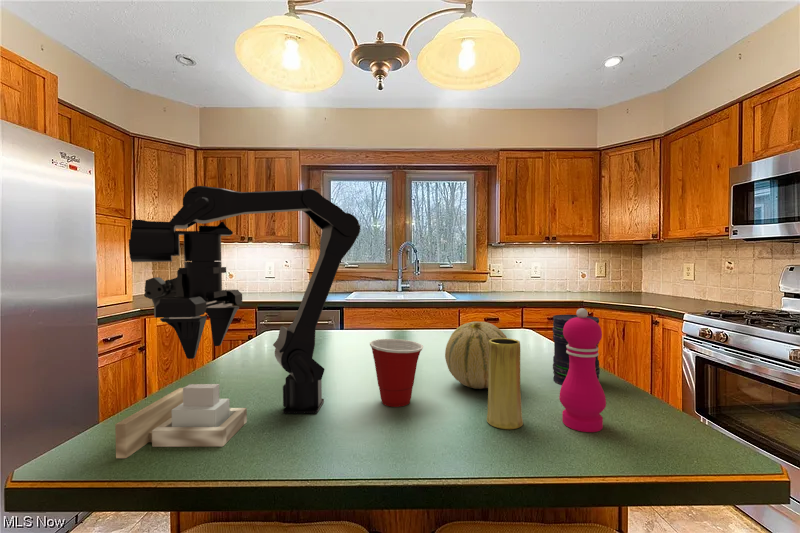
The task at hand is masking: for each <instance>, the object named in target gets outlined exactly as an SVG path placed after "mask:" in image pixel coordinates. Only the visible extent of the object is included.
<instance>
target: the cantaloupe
mask: <svg viewBox="0 0 800 533" xmlns="http://www.w3.org/2000/svg"><path fill="white" fill-rule="evenodd" d="M495 338H508V337H507V336H506V334H505V333H504V332H503V331H502V330H501V329H500V328H499V327H498V326H496V325H494V324H493V323H490V322H487V321H471V322H466V323H464V324H461V325H460V326H458V327H457V328H456V329H455V330H454V331H453V332H452V334H450V337H449V339H448V341H447V343H446V346H445V352H444V358H445V364H446V366H447V369H448V372H449V373H450V374H451V375H452V377H453V378H454V379H455V380H456V381H457V382H459V383H460V384H462V385H463V386H465V387H468V388H473V389H477V390H478V389H479V390H482V389H488V383H489V381H488V380H489V340H491V339H495Z"/></svg>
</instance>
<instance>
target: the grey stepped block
mask: <svg viewBox="0 0 800 533" xmlns="http://www.w3.org/2000/svg"><path fill="white" fill-rule="evenodd" d="M182 388H183V403H182V404H180V405H179V406H177V407H176V408H174V409H172V427H219V426H220V425H221V424H223V423H224V422H225V421H226V420H227V419H228V418H229V417H230V408H231V406H230V403H231V402H230V398H220V384H219V383H214V384H213V383H207V384H206V383H199V384H198V383H197V384H196V383H189V384H188V385H186V386H184V387H182Z"/></svg>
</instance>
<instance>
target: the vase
mask: <svg viewBox="0 0 800 533" xmlns="http://www.w3.org/2000/svg"><path fill="white" fill-rule="evenodd" d="M488 381H489V383H488V388H487V390H488V391H487V394H488V395H487V415H486V422H487V423H488V424H489V425H490V426H492V427H494V428H496V429H501V430H515V429H519V428H521V427H523V425H524V420H523V413H522V412H523V411H522V410H523V409H522V394H521V392H522V391H521V341H520V340H518V339H515V338H508V337H507V338H495V339H491V340H489V380H488Z"/></svg>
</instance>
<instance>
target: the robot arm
mask: <svg viewBox="0 0 800 533" xmlns="http://www.w3.org/2000/svg"><path fill="white" fill-rule="evenodd" d="M284 212H287V213H289V212H303V213H304V214H306V216H308V217H309V219H310V220H311V221H312V222H313V224H315V226H317V227H318V228H319V229H320V230H321V236H320V243H319V244H320V247H319V255H318V259H317V261H316V262H315V266H314V268H313V271H312V273H311V276H310V279H309V282H308V284H307V286H306V289H305V292H304V294H303V297H302V300H301V302H300V305H299V307H298V310H297V312H296V315H295V318H294V320H293V321H292V322H291V324H289V326H288V327H286V326H284V325H281V326H280V328H279V331H278V335H277V339H276V341H275V342H274V343H273V344H272V346H273V347H274V348H275V349H274V357H275V359H276V361H277V363H278V364H279V365H280V366H281V367H282V369H283V370H284V371H285V372H287V373H288V375H287V376H286V377H285V378H284V379H285V383H284V384H283V385H282V406H283V407H284V408H283V410H282V414H318V413H319V411H320V409H321V407H322V406H323V404H324V402H325V398H322V397H323V396H322V392H323V390H322V389H323V388H322V387H323V386H322V385H323V384H322V382H323V381H322V379H323V376H324V374H325V368H324V366H322V365H321V364H319V363H318V362H317V361H316V360H315V359H314V358H313V357H314V352H315V347H316V329H317V325H318V323H319V320H320V317H321V314H322V312H323V310H324V306H325V304H326V301H327V299H328V296H329V293H330V291H331V288H332V285H333V283H334V281H335V278H336V274H337V272H338V271H339V270H338V269H339V267H340V265H341V261H342V260H343V258H345V256H346V255H347V254H348V252H349V251H350V250H351V249H352V247H353V246H354V244H355V242H356V241H357V239H358V237H359V236H360V232H361V225H360V223H359V220H358V219H357V217H356V216H355V215H354V214H352V213H348V212H346V211H344V210H343V209H342V208H341V207H339V206H338V205H336V204H335V203H333V202H332V201H330V200H329V199H327V198H325V197H324V196H323V195H322V194H320V192H318V191H317V190H315V189H314V188H306V189H296V190H295V189H293V190H292V189H291V190H265V191H264V190H263V191H261V190H259V191H237V190H236V191H235V190H232V189H227V188H223V187H221V188H220V187H213V186H205V185H196V186H193V187H191V188H189V189H188V190H187V191H186V192H185V194H184V195H183V198H182V206H181V208H180V209H179V210H178V211H177V212H176V214H175V215H172V218H171V219H170V221H156V220H155V221H153V220H151V221H150V220H144V219H131V228H130V235H129V236H130V237H129V239H128V250H129V251H128V252H129V259H130V261H131V263H172V262H173V257H175V256H176V257H177V256H178V257H179V256H180V255H181V254H180V252H181V251H180V250H181V247H180V245H181V244H180V236H183V256H184V257H183V260H184V262H183V265H184V267H179V268H178V269H177V271H176V275H177V276H176V277H174V278H171V279H166V280H164V279H163V278H162V277H160V276H158V277H151V278H148V279H147V280H145V281H144V282H145V284H144V294H143V296H144V297H145V298H146V299H150V300H151V301H152V303H153V314H154V315H153V317H154V318H155V319H156V318H158V319H159V320H160V321H161V322H162V323H166V324H168V325H169V326H170V327H171V328H173V329H174V331H175V333H176V335H177V338H178V339H179V342H180V344H181V347H182V349H183V351H184V354H185V356H186V359H187V360H193V359H195V358H196V357H197V356H196V355H197V352H198V349H199V346H200V342H201V339H202V335H203V331H204V329H205V325H206V321H207V318H208V317H209V323H210V331H211V336H212V341H213V345H214V347H219V346H221V345H222V343H223V341H224V339H225V337H226V334H227V332H228V330H229V328H230V326H231V325H232V324H231V323H232V321H233V320H234V318H235V316H236V314H237V312H238V310H239V309H240V306H239V305H242V304H243V293H242V292H241V291H239V289H223V280H222V279H223V278H222V276H223V275H222V274H224V273H225V274H226V273H227V266H222V237H231V236H232V235H233V234H234V231H233V230H232V229H230V228H229V227H227V225H226V224H225V221H222V220H227V219H229V218H233V217H237V216H241V215H249V214H250V215H251V214H252V215H253V214H255V215H257V214H267V213H268V214H269V213H271V214H272V213H284ZM217 221H220V222H219V224H218V225H198V230H186V229H188V228H190V227H192V226H194V225H195V224H197V223H198V224H208V223H213V222H217ZM177 229H179V230H177ZM205 314H206V315H205Z"/></svg>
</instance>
